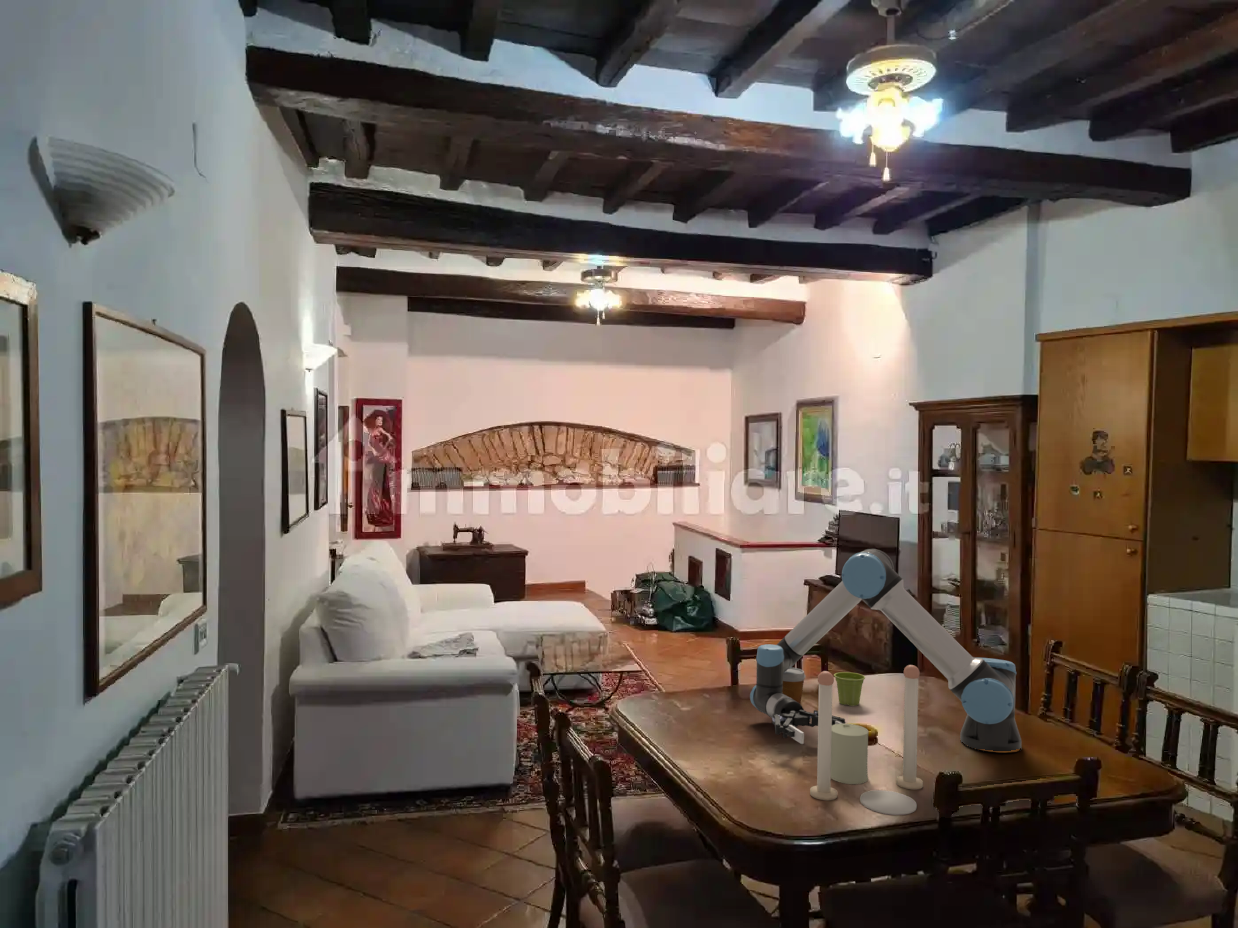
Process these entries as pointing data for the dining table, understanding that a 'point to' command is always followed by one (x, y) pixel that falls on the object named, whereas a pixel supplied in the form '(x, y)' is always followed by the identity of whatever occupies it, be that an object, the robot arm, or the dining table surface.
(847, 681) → the plant pot
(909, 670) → the gate
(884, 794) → the coaster
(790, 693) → the disposable coffee cup
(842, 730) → the can
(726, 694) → the dining table surface
